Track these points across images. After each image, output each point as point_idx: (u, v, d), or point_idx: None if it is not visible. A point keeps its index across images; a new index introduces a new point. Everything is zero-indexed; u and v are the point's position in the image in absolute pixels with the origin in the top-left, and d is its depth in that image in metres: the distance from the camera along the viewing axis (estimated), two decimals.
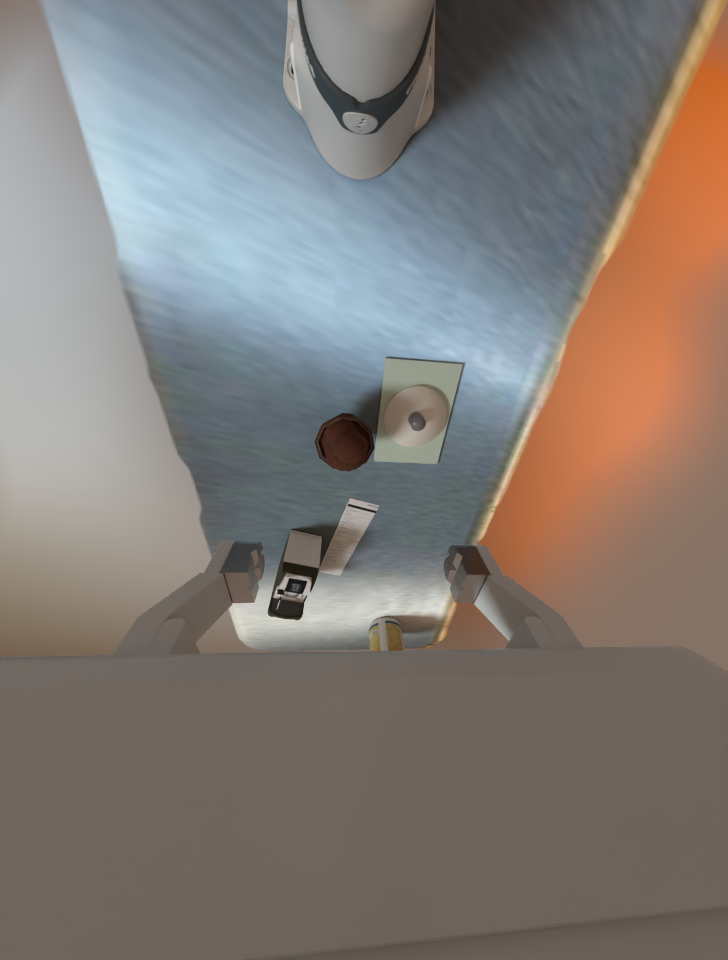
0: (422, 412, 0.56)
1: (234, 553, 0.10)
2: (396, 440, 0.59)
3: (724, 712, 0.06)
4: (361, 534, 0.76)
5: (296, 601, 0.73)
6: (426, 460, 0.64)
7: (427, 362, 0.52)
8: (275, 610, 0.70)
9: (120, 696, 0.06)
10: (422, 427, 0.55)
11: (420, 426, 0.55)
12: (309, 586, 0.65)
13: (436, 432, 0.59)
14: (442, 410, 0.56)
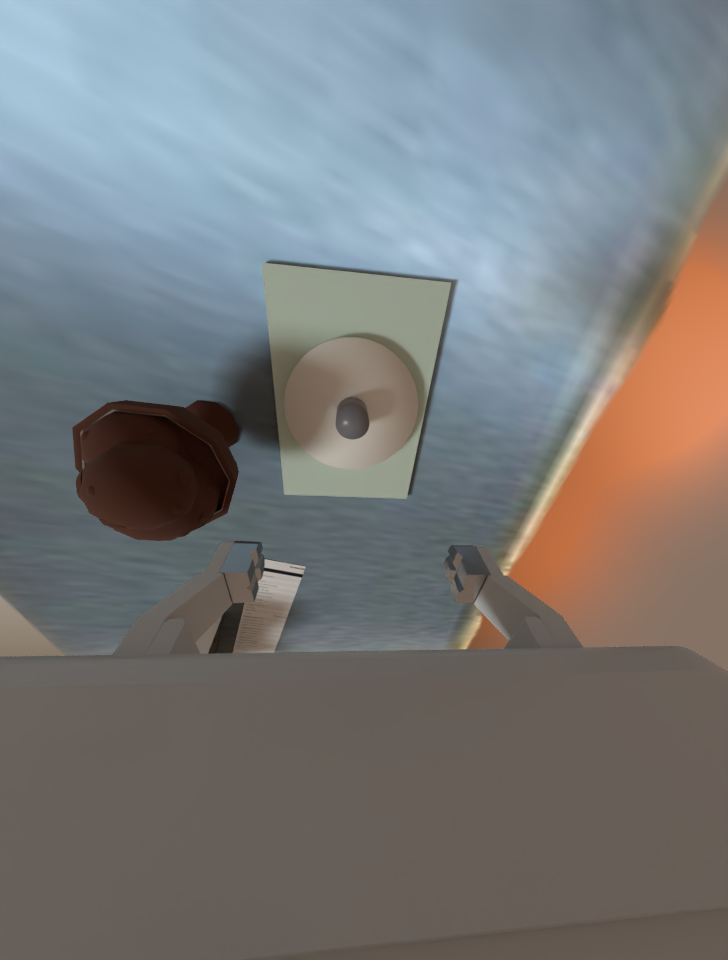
0: (365, 398, 0.26)
1: (234, 553, 0.10)
2: (318, 457, 0.29)
3: (724, 712, 0.06)
4: (289, 607, 0.47)
5: None
6: (385, 492, 0.33)
7: (366, 276, 0.22)
8: None
9: (120, 696, 0.06)
10: (362, 431, 0.25)
11: (358, 429, 0.25)
12: None
13: (399, 440, 0.29)
14: (408, 393, 0.26)
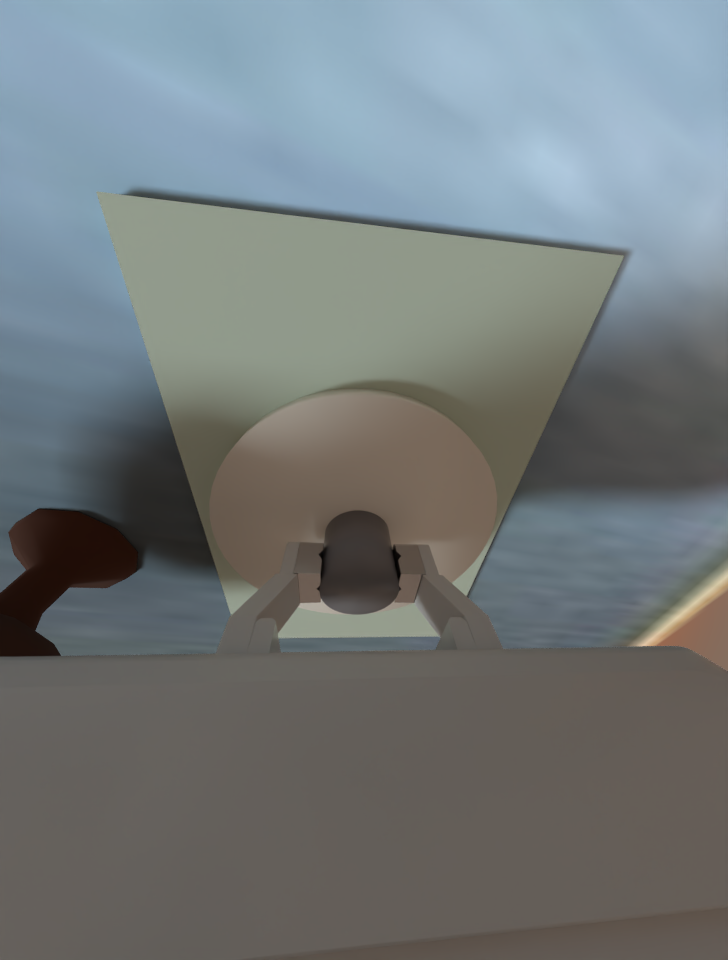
0: (386, 512, 0.12)
1: (303, 554, 0.10)
2: None
3: (724, 712, 0.06)
4: None
5: None
6: (413, 630, 0.20)
7: (401, 237, 0.08)
8: None
9: (120, 696, 0.06)
10: (382, 602, 0.11)
11: (374, 600, 0.11)
12: None
13: (448, 574, 0.15)
14: (477, 501, 0.12)
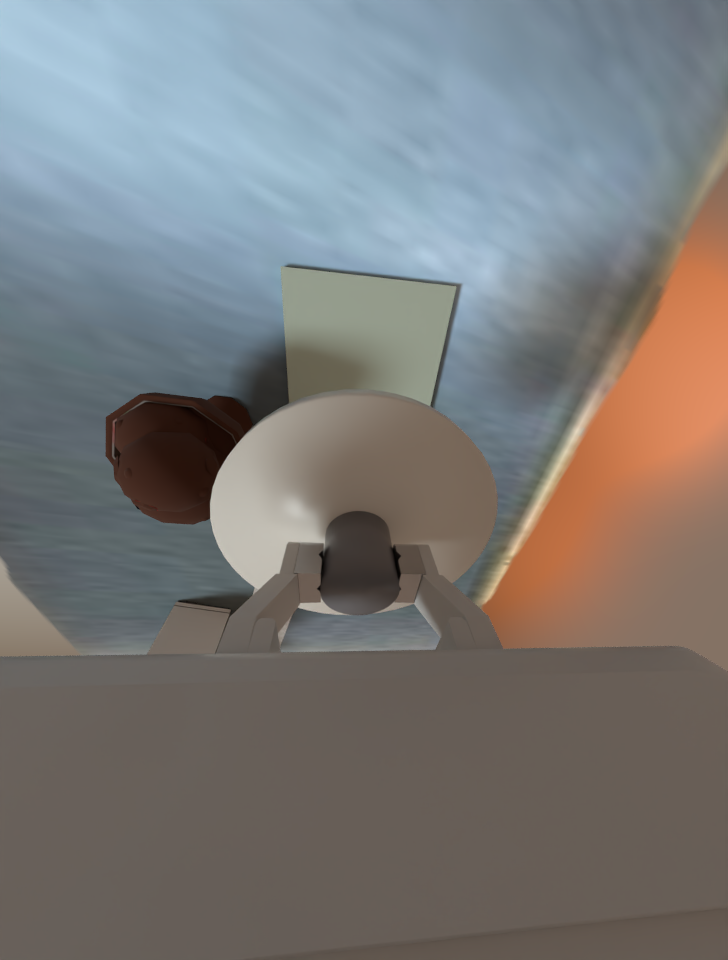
0: (387, 513, 0.12)
1: (303, 554, 0.10)
2: None
3: (724, 712, 0.06)
4: None
5: None
6: None
7: (377, 279, 0.23)
8: None
9: (120, 696, 0.06)
10: (382, 602, 0.11)
11: (374, 600, 0.11)
12: None
13: (448, 575, 0.15)
14: (478, 502, 0.12)
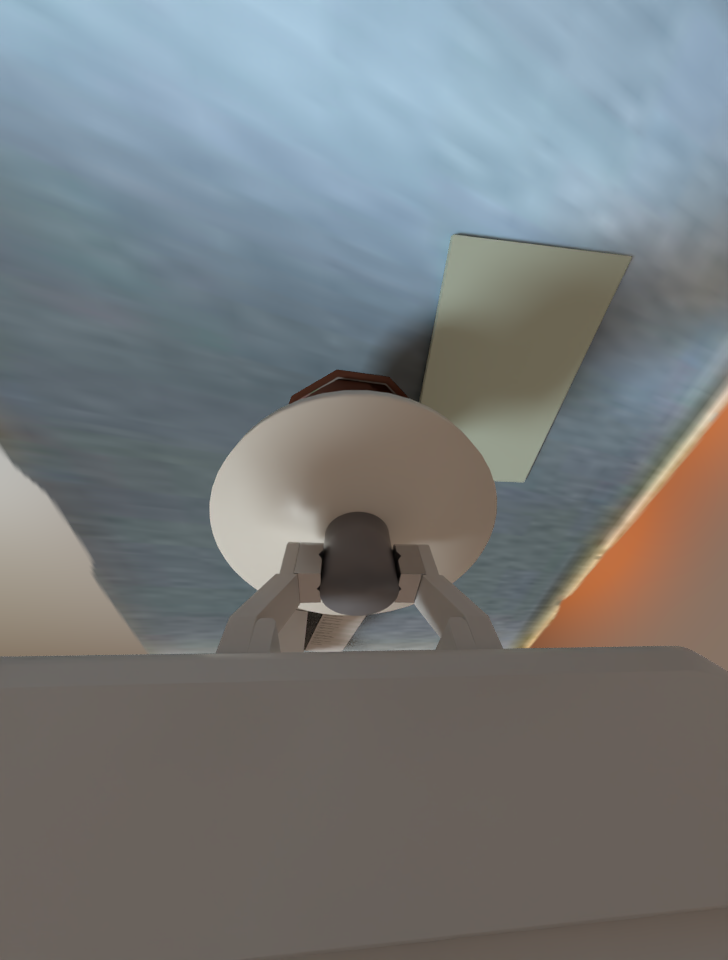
0: (386, 513, 0.12)
1: (303, 554, 0.10)
2: None
3: (724, 712, 0.06)
4: None
5: None
6: (505, 476, 0.33)
7: (550, 249, 0.22)
8: None
9: (120, 696, 0.06)
10: (382, 603, 0.11)
11: (373, 601, 0.11)
12: None
13: (447, 575, 0.15)
14: (477, 502, 0.12)
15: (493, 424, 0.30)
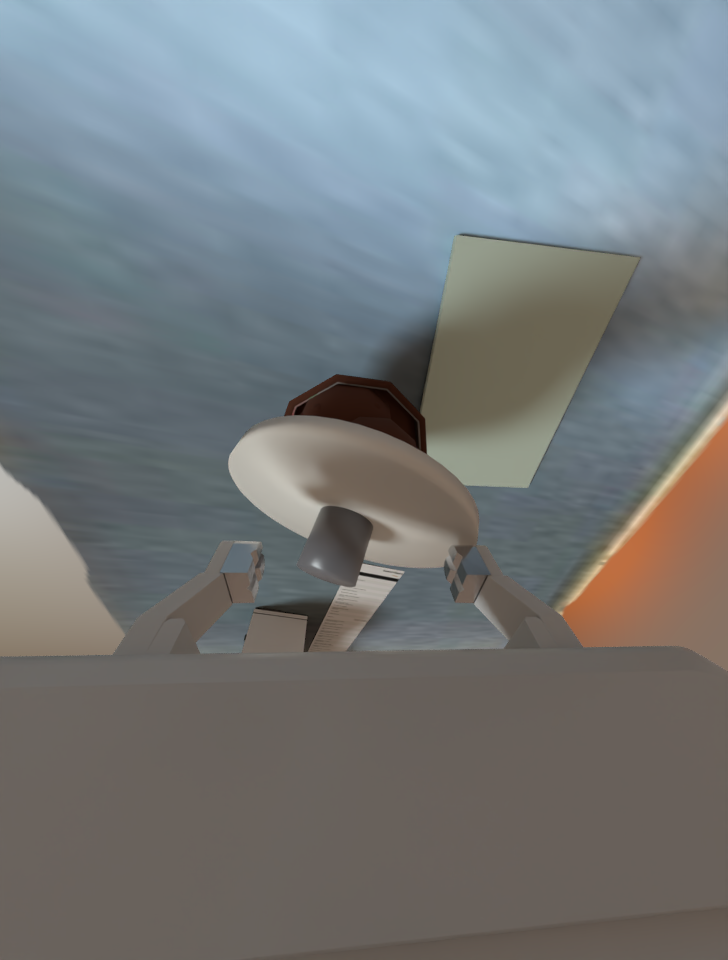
0: (370, 517, 0.13)
1: (234, 553, 0.10)
2: (301, 533, 0.19)
3: (724, 712, 0.06)
4: (371, 611, 0.47)
5: None
6: (508, 481, 0.33)
7: (556, 250, 0.21)
8: None
9: (120, 696, 0.06)
10: (344, 584, 0.14)
11: (337, 581, 0.14)
12: None
13: (425, 563, 0.17)
14: (457, 537, 0.12)
15: (496, 429, 0.29)
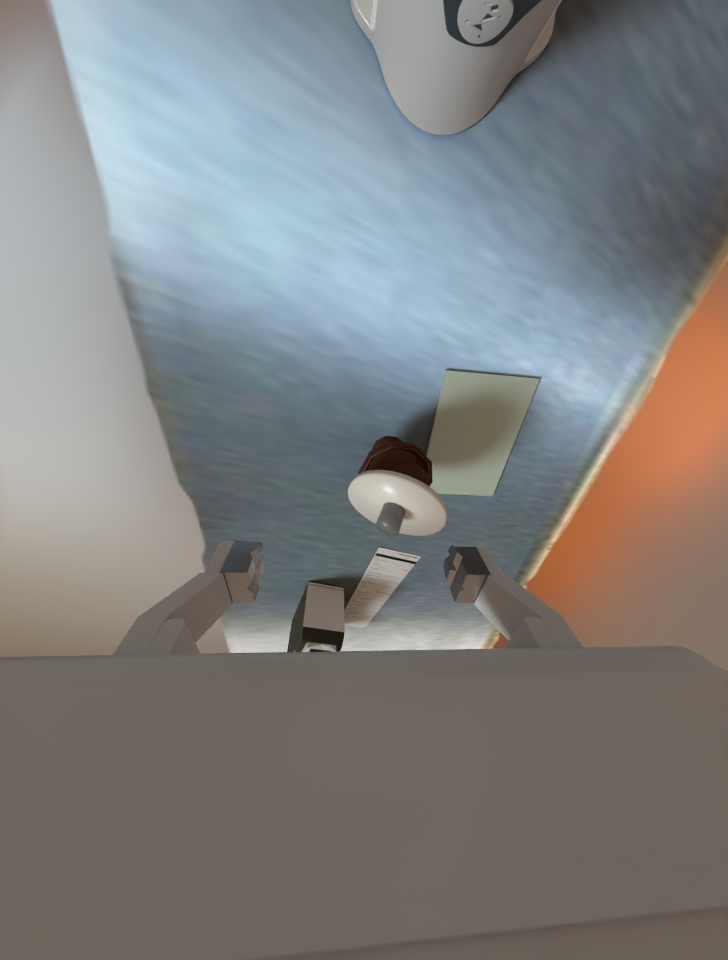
0: (405, 507, 0.34)
1: (234, 553, 0.10)
2: (367, 516, 0.40)
3: (724, 712, 0.06)
4: (389, 584, 0.66)
5: None
6: (480, 492, 0.53)
7: (497, 376, 0.42)
8: None
9: (120, 696, 0.06)
10: (393, 533, 0.34)
11: (390, 532, 0.34)
12: None
13: (426, 532, 0.37)
14: (438, 516, 0.33)
15: (471, 461, 0.49)
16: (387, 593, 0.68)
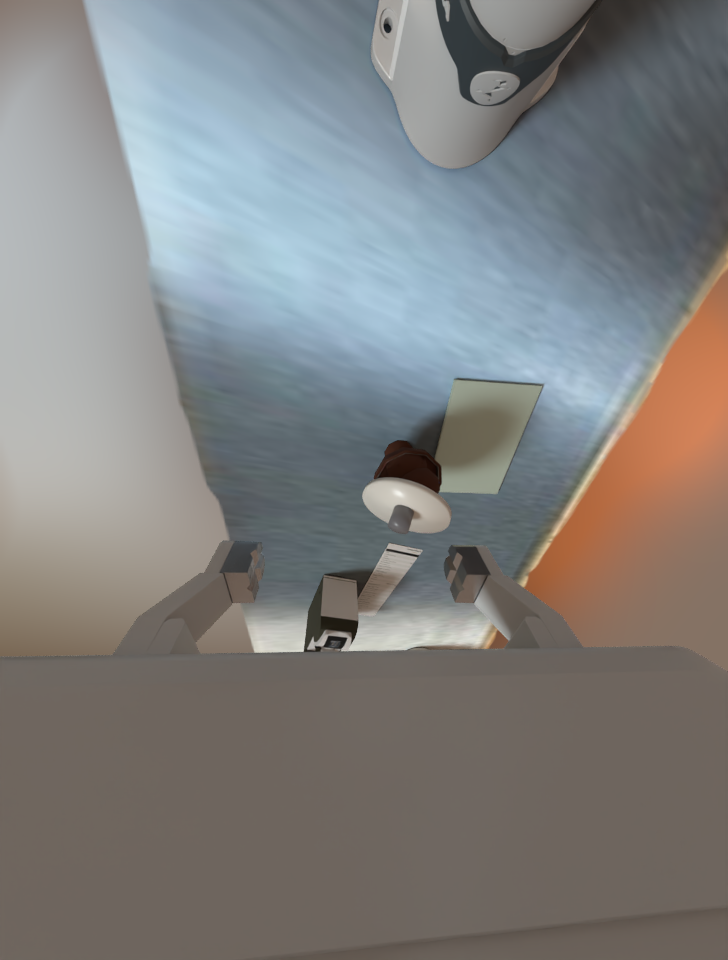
0: (414, 509, 0.38)
1: (234, 553, 0.10)
2: (379, 516, 0.44)
3: (724, 712, 0.06)
4: (398, 577, 0.71)
5: None
6: (485, 490, 0.56)
7: (502, 384, 0.45)
8: None
9: (120, 696, 0.06)
10: (403, 532, 0.39)
11: (401, 531, 0.38)
12: (349, 642, 0.60)
13: (432, 530, 0.41)
14: (443, 517, 0.37)
15: (477, 462, 0.53)
16: (396, 585, 0.73)
